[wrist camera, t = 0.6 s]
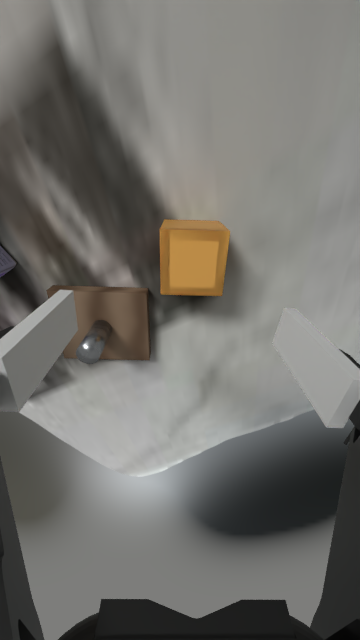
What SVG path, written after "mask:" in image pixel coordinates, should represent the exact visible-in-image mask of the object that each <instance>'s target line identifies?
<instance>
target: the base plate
mask: <svg viewBox="0 0 360 640" xmlns="http://www.w3.org/2000/svg"><path fill="white" fill-rule="evenodd" d="M59 290H72V291H73V294H74V302H75V310H76V318H77V326H78V331H77V332H76V333H75V335H74V336H73V338H72V339H71V340H70V342H69V343H68V345H67V346H66V347H65V349H64V350H63V354H64V358H77V356H76V350H77V348H78V347H79V345H80V343H81V342H82V340H83V339H84V337H85V336H86V334H87V332H88V331H89V329H90V328H91V326H92V325H93V323H94V322H95V321H97V320H104V321H107V322H108V323H109V324H110V325H111V327H112V332H111V334H110V337H109V339H108V341H107V343H106V345H105V347H104V349H103V351H102V353H101V355H100V358H99V359H118V360H150V354H151V347H150V323H149V299H148V288H128V287H92V286H55V285H53V286H52V287H51V288H49V289H48V290H47V294H48V298H50V297H52V296H53V295H54V294H55V293H57V292H58V291H59ZM77 359H78V358H77Z"/></svg>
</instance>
